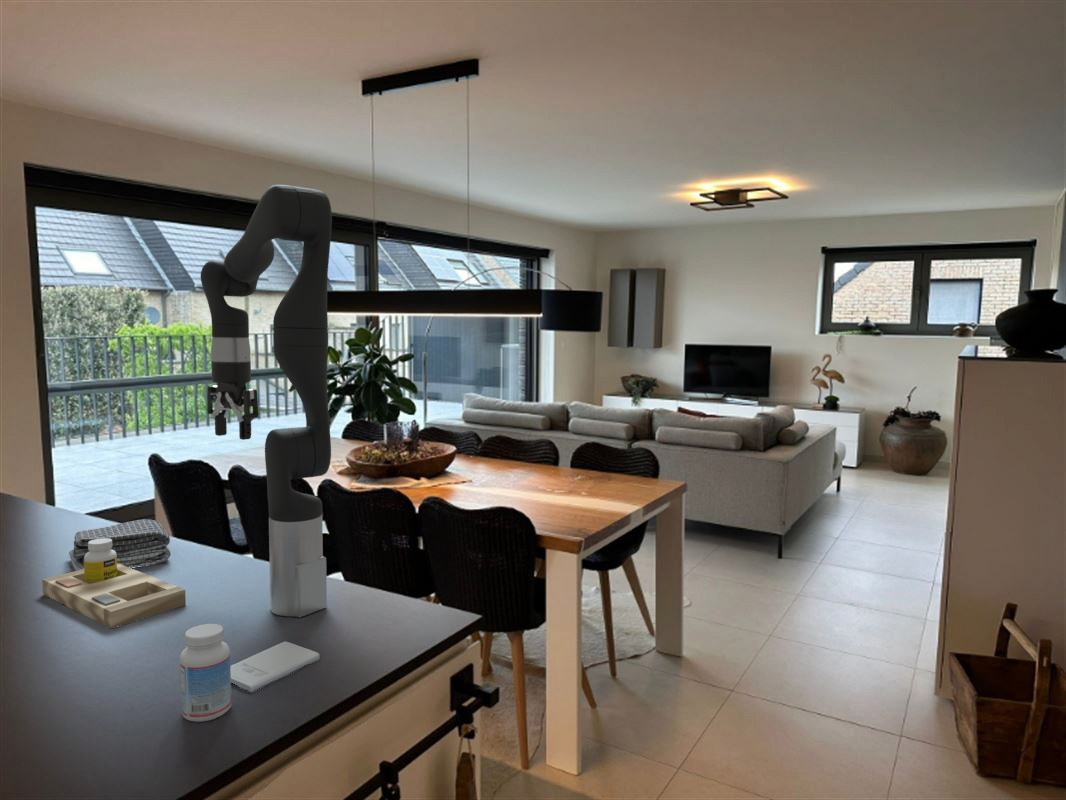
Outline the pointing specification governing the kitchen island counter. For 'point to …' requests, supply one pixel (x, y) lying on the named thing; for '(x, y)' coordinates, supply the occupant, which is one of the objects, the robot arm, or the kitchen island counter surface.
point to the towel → (126, 543)
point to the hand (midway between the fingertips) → (232, 437)
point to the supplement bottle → (100, 561)
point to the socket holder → (115, 595)
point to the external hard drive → (270, 664)
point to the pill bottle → (205, 674)
